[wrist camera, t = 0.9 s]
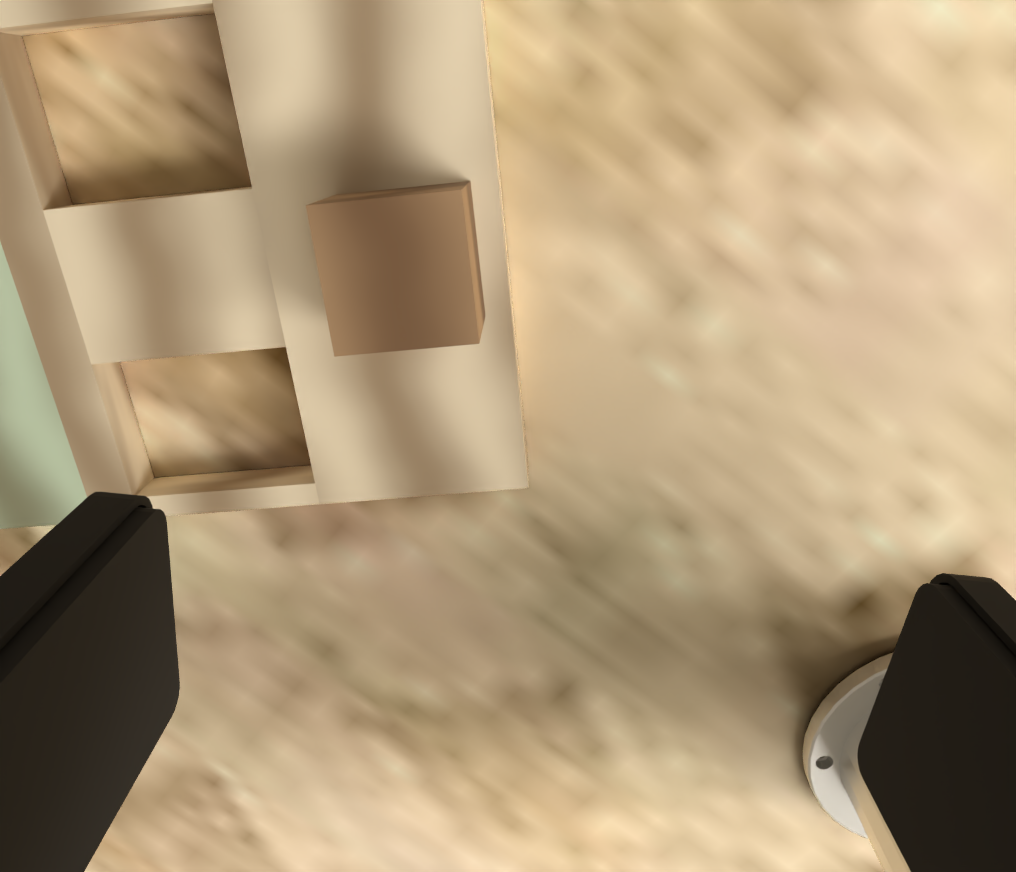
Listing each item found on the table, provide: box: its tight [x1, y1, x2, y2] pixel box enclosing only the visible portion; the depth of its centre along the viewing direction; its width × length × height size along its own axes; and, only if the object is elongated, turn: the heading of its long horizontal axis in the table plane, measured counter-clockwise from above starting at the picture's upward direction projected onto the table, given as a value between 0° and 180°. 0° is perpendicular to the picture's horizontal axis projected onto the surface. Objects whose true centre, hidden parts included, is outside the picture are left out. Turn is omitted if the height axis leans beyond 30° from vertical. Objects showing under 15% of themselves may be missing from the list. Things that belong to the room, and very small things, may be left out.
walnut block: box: [306, 181, 485, 357], centre depth 27 cm, size 5×5×4 cm
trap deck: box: [0, 0, 528, 529], centre depth 29 cm, size 26×20×4 cm
